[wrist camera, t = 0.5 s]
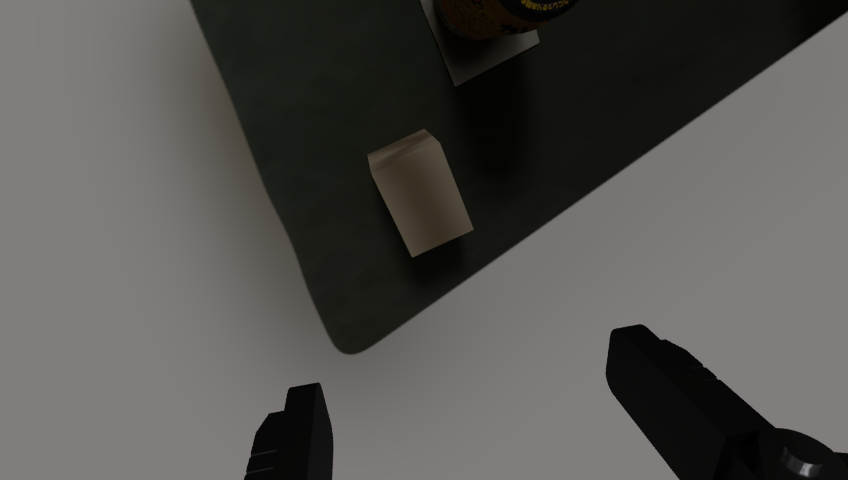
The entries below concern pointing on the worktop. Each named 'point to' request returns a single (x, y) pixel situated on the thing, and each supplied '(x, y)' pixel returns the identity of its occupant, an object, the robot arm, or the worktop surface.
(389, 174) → the block
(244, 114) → the worktop surface
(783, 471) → the robot arm
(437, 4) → the condiment
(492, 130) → the worktop surface
